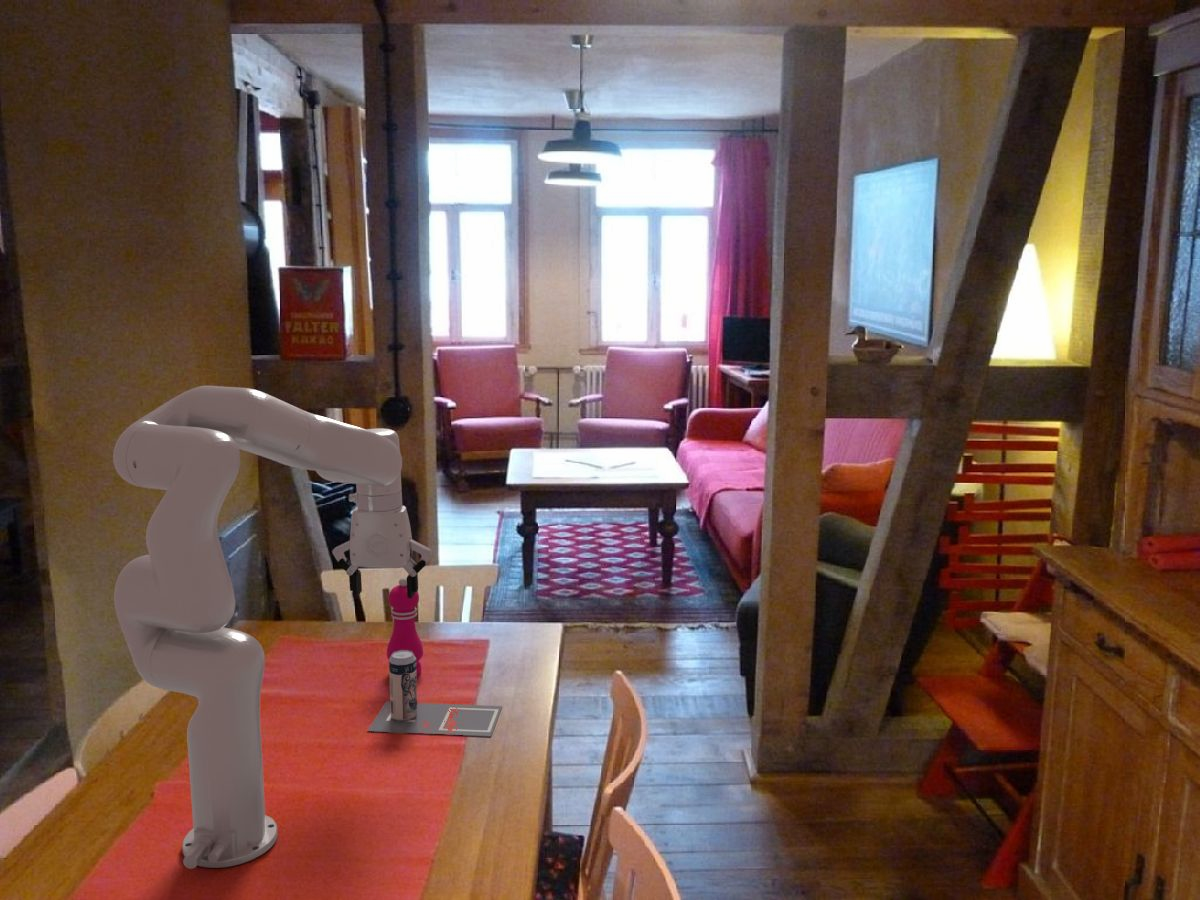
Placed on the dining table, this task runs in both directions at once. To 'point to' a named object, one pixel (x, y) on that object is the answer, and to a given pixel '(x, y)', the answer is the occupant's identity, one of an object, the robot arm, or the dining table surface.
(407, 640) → the pepper mill
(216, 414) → the robot arm
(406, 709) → the beer can
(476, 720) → the slate board
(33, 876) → the dining table surface
